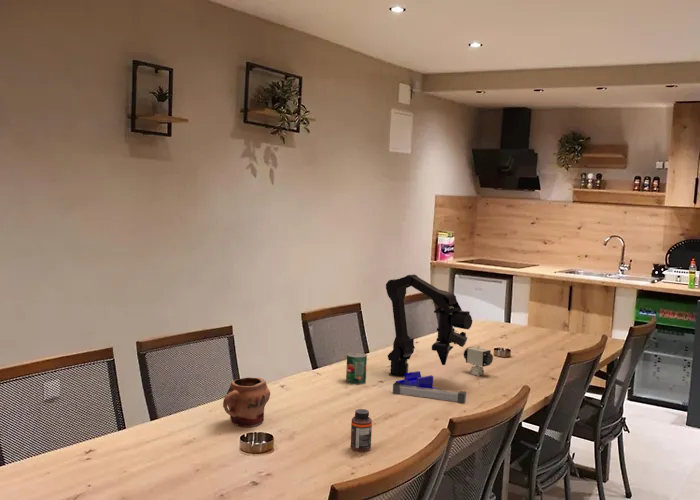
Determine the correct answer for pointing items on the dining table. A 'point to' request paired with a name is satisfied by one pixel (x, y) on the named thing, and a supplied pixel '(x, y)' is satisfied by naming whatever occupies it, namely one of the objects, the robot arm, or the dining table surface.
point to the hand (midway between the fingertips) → (443, 364)
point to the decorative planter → (247, 401)
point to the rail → (429, 393)
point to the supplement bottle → (361, 431)
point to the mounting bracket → (417, 380)
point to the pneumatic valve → (478, 359)
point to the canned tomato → (356, 368)
